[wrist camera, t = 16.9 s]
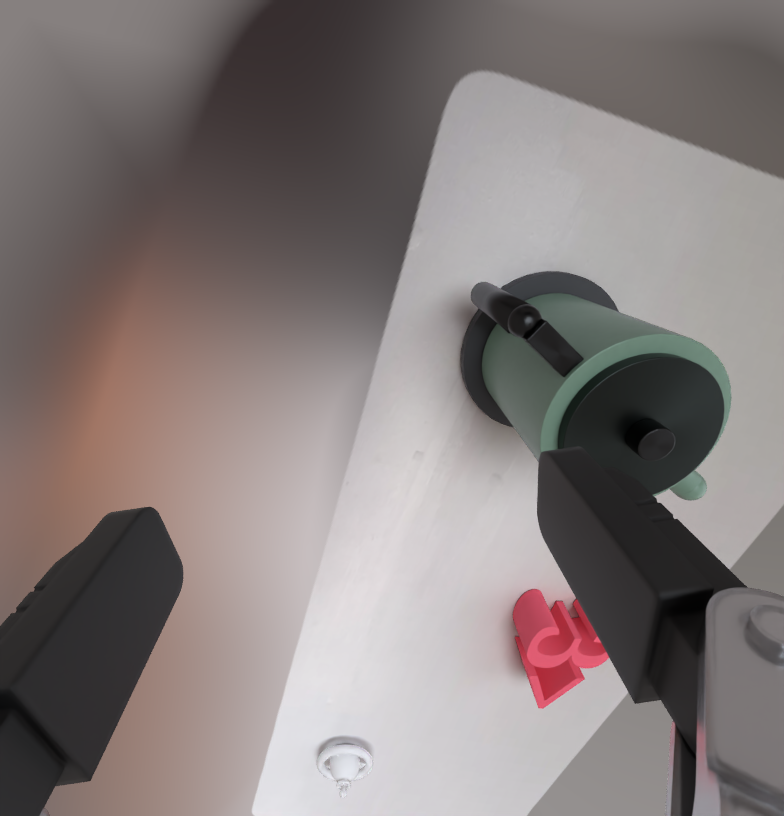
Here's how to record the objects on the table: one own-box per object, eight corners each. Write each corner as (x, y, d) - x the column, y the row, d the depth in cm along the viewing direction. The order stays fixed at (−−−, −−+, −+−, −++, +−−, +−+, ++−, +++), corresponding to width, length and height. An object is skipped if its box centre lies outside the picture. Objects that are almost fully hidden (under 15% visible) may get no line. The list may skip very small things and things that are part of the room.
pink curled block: (560, 670, 56) (577, 710, 51) (488, 665, 55) (500, 706, 50) (601, 595, 50) (624, 633, 46) (522, 587, 49) (538, 625, 45)
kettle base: (432, 388, 38) (434, 393, 37) (517, 239, 33) (522, 240, 32) (555, 444, 41) (560, 450, 40) (649, 317, 36) (657, 320, 35)
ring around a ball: (337, 725, 58) (307, 753, 61) (333, 774, 53) (301, 803, 56) (384, 743, 60) (353, 770, 63) (384, 792, 55) (351, 819, 58)
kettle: (417, 333, 34) (453, 410, 20) (516, 222, 31) (636, 225, 17) (564, 461, 40) (667, 586, 26) (659, 379, 37) (830, 472, 23)
